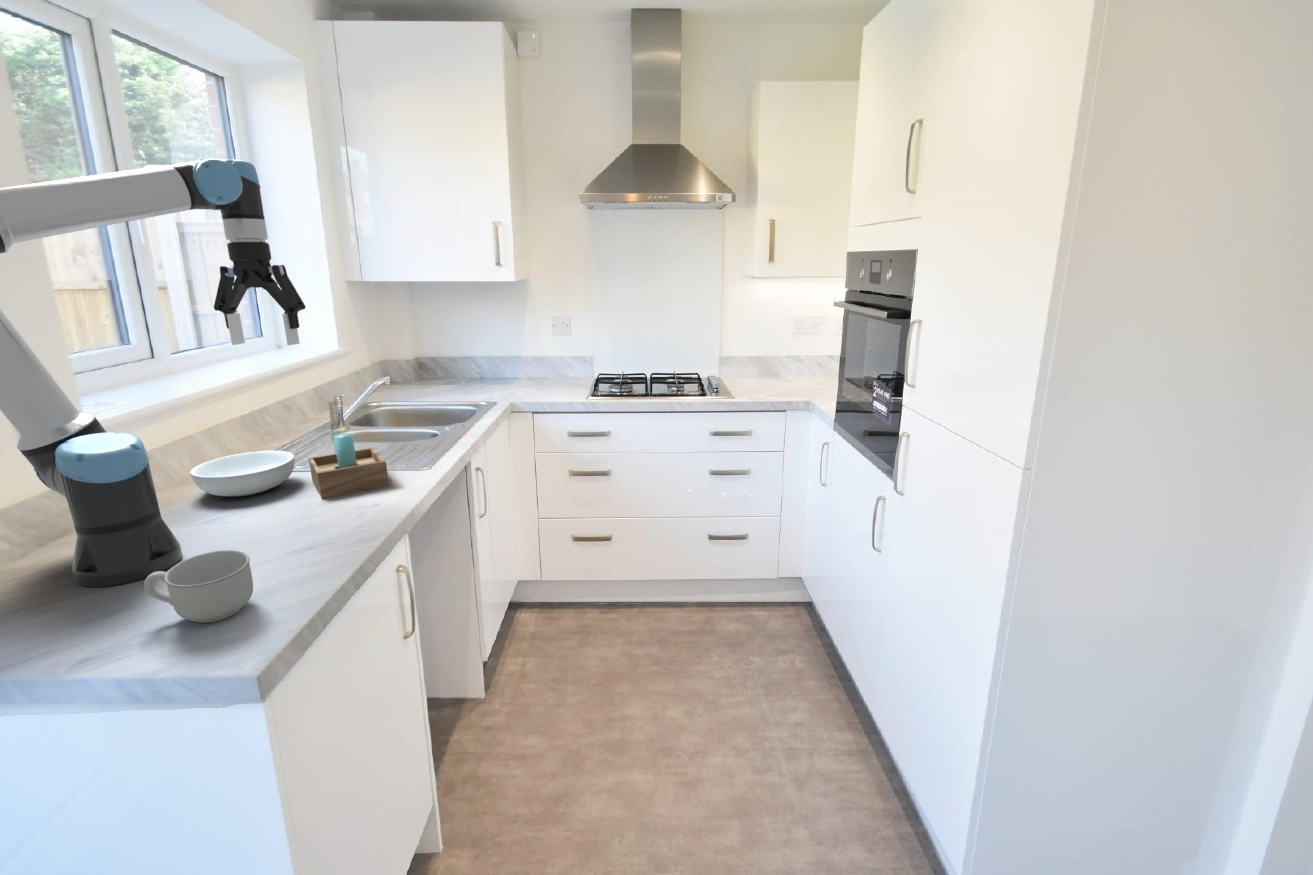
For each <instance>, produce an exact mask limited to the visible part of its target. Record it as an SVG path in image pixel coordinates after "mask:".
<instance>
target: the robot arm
mask: <svg viewBox="0 0 1313 875" xmlns="http://www.w3.org/2000/svg"><path fill="white" fill-rule="evenodd" d="M191 210H192V211H193V210H212V211H220V214H221V219H222V225H223V231H224V237H225V239H226V240H228V241H229V242H227V244H226V246H227V253H228V256H229V260H230V261H231V262H232V265H221V266H220V267H219V274H220V275H219V276H220V278H219V281H218V287H217V291H216V295H215V300H214V305H213V310H214V311H218V312H221V313H222V314H223V315H224V320H225V325H226V328H227V329H229V330H228V331H229V335H230V341H231V345H232V346H234V345H243V344H245V342H246V341H245V336H244V331H243V325H242V319H241V314H240V312H238V311H239V310H238V307H239V305H240V303H241V301H242V300H243V298H244V296H245V294H246V292H247V290H249V289H250V288H257V289H259V288H261V289H262V290H263V289H264V290H265V291H266V292H267V293H268V294H269V295H270V296H271V298H272V299H273V300H274V301H275V303H277V304H278V305H279V306H280V308H281V309H282V310H284V312H283V313H282V320H283V327H284V332H285V337H286V343H287V346H292V345H298V344H300V336H299V332H298V329H299V328H300V322H299V316H298V313H299V312H301V311H303V310H305V309H306V304H305V303H304V302H303V300H302V297H301V296H300V295H299V292H298V291H297V289H296V288H295V286H294V285H293V283H292V281H291V280H290V279H291V278H290V277H289V276H288V274H287V273H288V272H287V268H286V266H285V265H284V264H273V265H272V264H271V262H270V261H271V260H272V255H271V253H272V252H271V248H270V244H269V243H268V242H266V240H268V238H269V236H268V232H267V226H266V219H265V213H264V208H263V201H262V195H261V185H260V182H259V178H258V173H257V170H256V166H255V165H254V164H253V163H252V162H250V161H246V160H241V159H240V160H239V159H219V158H211V157H210V158H201V159H199V160H195V161H194V160H193V161H189V162H181V163H175V164H170V165H169V164H166V165H164V164H161V165H157V164H156V165H155V164H154V165H151V164H149V165H146V166H145V167H143V168H139V169H131V170H123V171H116V172H107V173H103V174H102V173H101V174H95V175H94V174H93V175H89V176H80V177H79V176H78V177H72V178H66V179H65V178H64V179H60V180H59V179H57V180H51V181H44V182H37V183H29V184H24V185H23V184H22V185H15V186H7V187H1V188H0V254H3V253H8V252H9V250H10V248H11V246H12V245H13V244H17V243H18V244H19V243H22V242H28V241H32V240H33V241H34V240H38V239H43V238H48V237H53V236H58V235H59V236H60V235H64V234H69V233H75V232H79V231H85V230H90V229H95V228H102V227H107V226H112V225H116V224H121V223H123V224H124V223H128V222H133V221H138V220H144V219H147V218H153V217H154V218H155V217H159V216H164V215H170V214H174V213H180V212H186V211H191ZM272 276H273V277H272ZM235 277H236V278H235ZM0 412H1V413H2V414H3V415H4V417H5V418H6V419H7V420H8V422H10V424H11V425H12V426H13V427H14V429H15V430H16V431H17V432H18V433H19V436H20V437H19V439H18V442H17V445H16V448H17V449H18V450H19V451H20V453H21V454H22V456H24V457H25V459H26V460H27V461H28V462H29V463H30V465H31V466H32V467H33V470H34V472H35V474H36V477H37V478H38V479H39V481H40V482H41V483H42V484H44V485H45V487H47V488H49V489H50V490H52V491H53V492H56V493H57V494H59V495H61V496H62V497H64V498H65V500H66V501H67V504H68V507H69V512H70V515H71V516H70V517H71V520H72V523H73V527H74V530H75V534H76V540H75V546H74V553H73V560H72V566H71V571H72V576H73V578H74V582H75V583H76V584H77V585H79V586H81V587H82V586H83V587H88V588H89V587H90V588H96V587H97V588H100V587H111V586H117V585H122V584H127V583H130V582H131V583H132V582H135V581H139V580H142V579H146V578H147V577H148V576H149V575H150V574H152V573H154V572H157V571H164V572H165V570H169V568H170V569H171V568H172V567H173V566H175V565H176V564H178V563H179V561H180V560H181V559H182V558H183V552H182V547H181V544H180V542H179V540H178V539H177V537H176V536H175V535H174V533H173V531H172V530H171V528H170V527H169V526H168V525H167V524H166V522H165V521H164V519H163V517H162V515H161V511H160V510H161V509H160V506H159V501H158V498H157V493H156V488H155V484H154V479H153V476H152V471H151V468H150V462H149V460H150V457H149V453H148V451H147V449H146V447H145V445H144V442H143V441H142V440H141V439H140V438H139V437H138V436H135V435H134V434H131V433H125V432H119V433H117V432H115V431H114V432H107V431H106V429H105V428H104V426H103V425H102V424H101V423H100V422H99V420H98V419H97V417H96V416H95V415H94V414H93V413H88V412H84V411H80V410H78V409H77V408H76V406H75V404H74V403H73V402H72V401H71V400H70V399H69V397H68V396H67V394H66V393H65V391H63V389H62V388H61V387H60V385H59V383H58V382H57V381H56V380H55V378H54V377H53V376H52V374H51V373H50V372H49V371H48V369H47V368H46V366H44V364H43V363H42V361H41V360H40V358H38V356H37V355H36V353H35V352H34V351H33V349H32V348H31V347H30V346H29V344H28V343H27V341H26V340H25V339H24V337H23V336H22V335H21V334H20V332H19V331H18V329H17V328H16V326H14V324H13V323H12V322H11V320H10V319H9V318H8V316H7V315H6V314H5V312H4V311H3V310H2V308H0Z"/></svg>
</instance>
